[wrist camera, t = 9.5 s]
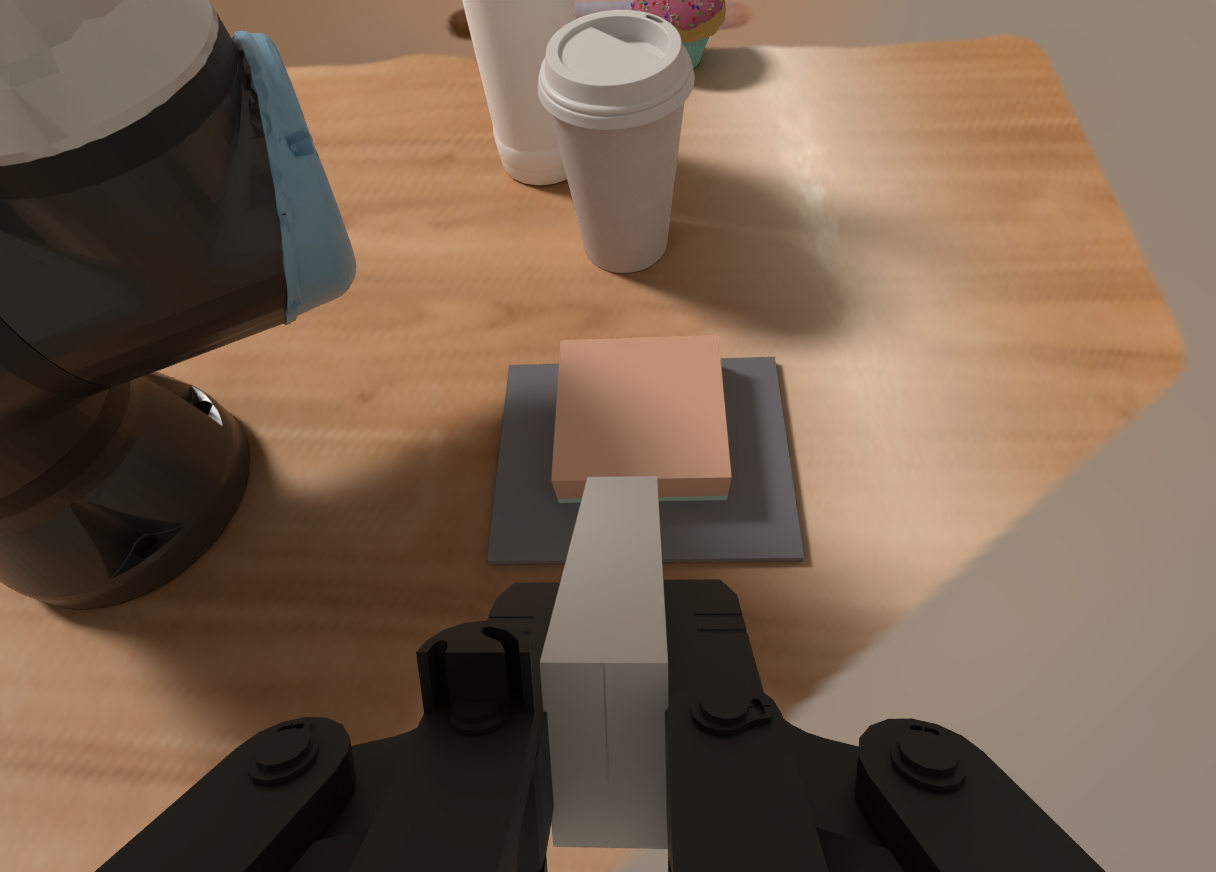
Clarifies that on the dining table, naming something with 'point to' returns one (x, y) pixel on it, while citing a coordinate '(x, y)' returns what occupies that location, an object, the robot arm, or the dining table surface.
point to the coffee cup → (618, 129)
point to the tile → (642, 416)
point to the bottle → (519, 81)
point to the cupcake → (688, 20)
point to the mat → (689, 530)
